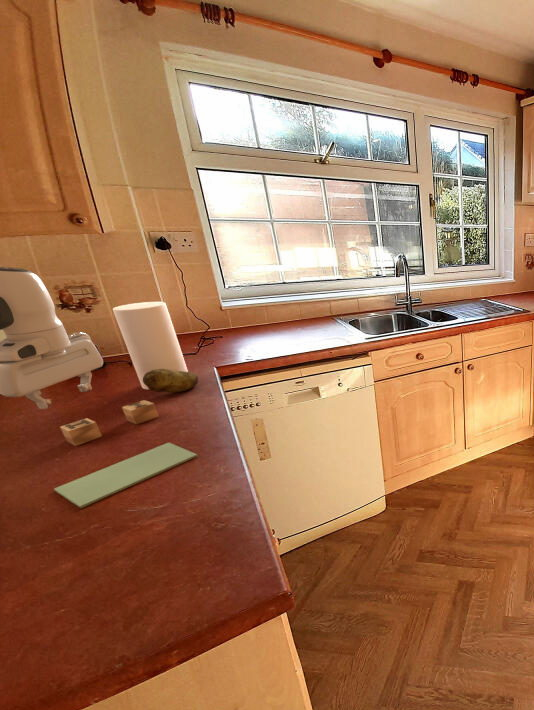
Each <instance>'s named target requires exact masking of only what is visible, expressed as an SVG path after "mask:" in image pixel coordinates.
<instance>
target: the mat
mask: <svg viewBox="0 0 534 710" xmlns="http://www.w3.org/2000/svg"><path fill="white" fill-rule="evenodd" d="M197 457H198V454H197V453H195V452H192V451H190V450H188V449H186V448H183V447H181V446H179V445H176V444H174V443H172V442H167V443H163V444H162V445H158V446H156V447H154V448H152V449H151V448H150V449H148V450H146V451H144V452H141V453H139V454H137V455H134V456H132V457H129V458H126V459H123V460H122V461H119V462H117V463H114V464H112V465H109V466H107V467H104V468H102V469H100V470H99V469H98V470H96V471H95V472H91V473H90V474H86V475H84V476H82V477H79V478H77V479H74V480H72V481H70V482H67V483H65V484H64V483H63V484H62V485H59V486H57V487H55V488H53V491H54V492H56V493H57V494H59V495H60V496H62V497H63V498H65V499H66V500H67V501H69V502H70V503H72V504H73V505H75V506H77V508H80V509H83V508H85V507H88V506H89V505H92V504H95V503H97V502H99V501H100V500H104V499H106V498H107V497H109V496H113V495H114V494H117V493H118V492H121V491H123V490H125V489H128V488H130V487H132V486H134V485H136V484H139V483H141V482H144V481H145V480H148V479H150V478H153V477H154V476H157V475H159V474H161V473H163V472H166V471H167V470H170V469H172V468H175V467H177V466H179V465H182V464H184V463H185V462H188V461H190V460H192V459H195V458H197Z"/></svg>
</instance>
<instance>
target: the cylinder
mask: <svg viewBox="0 0 534 710" xmlns="http://www.w3.org/2000/svg"><path fill="white" fill-rule="evenodd" d="M167 306H168V305H167V304H166V302H164V301H145V302H134V303H127V304H122V305H118V306H115V307H112V311H113V314H114V317H115V319H116V322H117V325H118V327H119V330H120V333H121V335H122V338H123V341H124V344H125V346H126V349H127V352H128V354H129V357H130V359H131V362H132V365H133V368H134V370H135V372H136V376H137V378H138V381H139V383H140V386H141V388H142V389H144V390H150V389H148V387H147V386H146V385H145V384H144V383H143V377H144V375H145V374H146V373H147V372H149V371H151V370H155V369H168V370H173V371H186V372H189V370H188V367H187V364H186V361H185V358H184V355H183V352H182V348H181V345H180V342H179V340H178V336H177V333H176V330H175V328H174V327H175V326H174V324H173V322H172V318H171V315H170V313H169V309H168V307H167ZM150 391H151V390H150Z"/></svg>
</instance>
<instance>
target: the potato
mask: <svg viewBox="0 0 534 710" xmlns="http://www.w3.org/2000/svg"><path fill="white" fill-rule="evenodd" d="M199 381H200V380H199V377H198V375H197V373H195V372H191V371H188V372H186V371H173V370H168V369H155V370H151V371H149V372H147V373H146V374H145V375H144V377H143V383H144V384H145V385H146V386H147V387H148V389H147V390H149V389H150V391H153V392H155V393H174V394H175V393H182V392H185V391H188V390H190V389H192V388H194V387H195V386H196V385H197V384H198V383H199Z"/></svg>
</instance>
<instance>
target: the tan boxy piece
mask: <svg viewBox="0 0 534 710" xmlns="http://www.w3.org/2000/svg"><path fill="white" fill-rule="evenodd" d="M121 410H122V411H123V413H124V416H125V418H126V421H127V422H129V423H132V424H134V425H140V424H142V423H145V422H147V421H151V420H154V419H156V418H159V414H158V411H157V409H156V406H155V403H154V402H151V401H148V400H145V399H143V400H140V401H137V402H134V403H133V402H132V403H130V404H127V405H124V406H122V407H121Z"/></svg>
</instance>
